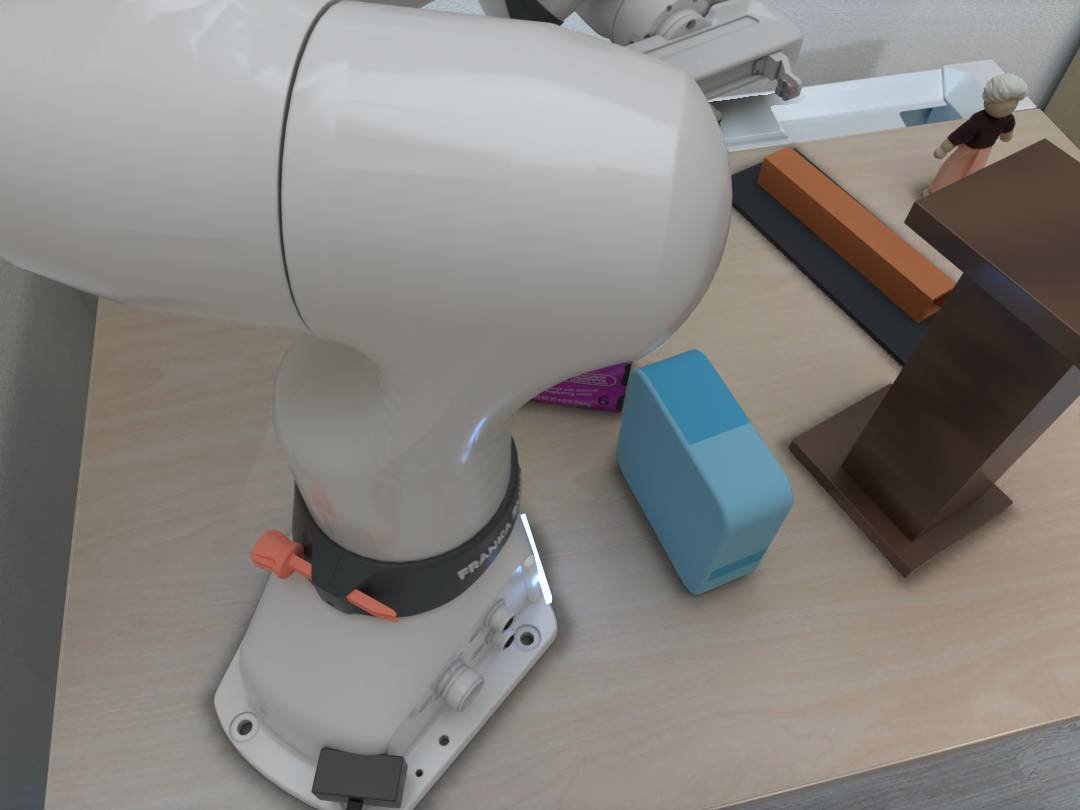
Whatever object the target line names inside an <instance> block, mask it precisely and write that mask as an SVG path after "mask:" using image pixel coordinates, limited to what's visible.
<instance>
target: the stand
mask: <svg viewBox="0 0 1080 810" xmlns="http://www.w3.org/2000/svg"><path fill="white" fill-rule="evenodd" d="M903 223H904V225H905V226H906V227H907V228H909V229H910V230H911V231H913V232H914V233H915V234H916V235H918V237H920V238H921V239H922V240H923V241H925V242H926V243H927V244H928V245H929V246H931V247H932V248H933V249H934V250H935V251H937V253H939V255H941V256H943V258H945V259H946V260H947V261H948V262H950V263H951V264H952V265H953V266H955V267H956V268H957V269H958V270H959V271H961V275H960V277H959V278H958V279H957V281H956V282H955V283H956V285H955V286H954V288H953V289H952V291H951V293H950V294H949V296H948V297H947V299H946V300H945V302H944V304H943V305H942V307H941V308H940V310H939V312H938V313H937V315H936V316H935V318H934V319H933V321H932V323H931V324H930V326H929V327H928V329H927V330H926V332H925V334H924V335H923V337H922V338H921V340H920V341H919V343H918V345H917V346H916V348H915V349H914V351H913V353H912V354H911V356H910V357H909V359H908V360H907V362H906V364H905V365H904V367H903V366H902V368H901V370H900V371H899V373H898V375H897V376H896V378H895V379H894V381H893V382H892V383H888V384H886V385H885V386H883V387H881V388H880V389H878V390H876V391H874V392H873V393H871V394H869V395H868V396H865V397H864V398H862V399H861V400H858V401H857V402H855V403H853V404H851V405H849V406H848V407H846V408H845V409H843V410H841V411H839V412H838V413H836V414H834V415H832V416H831V417H829V418H827V419H825V420H824V421H822V422H820V423H819V424H817V425H815V426H813V427H812V428H810V429H808V430H806V431H804V432H803V433H801V434H799V435H798V436H796V437H794V438H793V439H791V441H790V443H789V445H788V446H787V448H788V449H789V451H790V452H791V453H792V454H793V455H794V456H795V458H796V459H797V460H798V461H799V462H800V463H801V464H802V465H803V466H804V468H806V470H808V472H809V473H810V474H811V475H812V476H813V478H814V479H816V480H817V482H818V483H819V484H820V485H821V486H822V487H823V488H824V489H825V490H826V492H827V493H828V494H829V495H830V496H831V497H832V499H833V500H835V502H836V503H837V504H838V505H839V506H840V507H841V508H842V509H843V511H844V512H845V513H846V514H847V515H848V516H849V518H851V519H852V521H854V523H855V524H856V525H857V526H858V527H859V528H860V529H861V531H862V532H863V533H864V534H865V535H866V536H867V537H868V538H869V539H870V541H872V543H873V544H874V545H875V547H877V548H878V549H879V551H880V552H881V553H882V554H883V555H884V556H885V557H886V558H887V559H888V560H889V562H890V563H891V564H892V565H893V566H894V567H895V569H897V571H898V572H899V573H900V574H901V575H902V576H903V577H904V578H908V577H909V576H911V575H912V574H913V573H915V572H917V571H918V570H920V569H921V568H923V567H924V566H926V565H927V564H929V563H930V562H931V561H932V560H935V559H936V558H938V557H939V556H940V555H942V554H943V553H945V552H946V551H948V550H949V549H951V548H952V547H953V546H955V545H956V544H958V543H959V542H961V541H962V540H963V539H965V538H967V537H969V536H970V535H972V534H973V533H974V532H976V531H977V530H978V529H980V528H982V527H983V526H985V525H986V524H988V523H990V521H992V520H993V519H994V518H996V517H998V516H999V515H1001V514H1003V512H1005V511H1006V510H1007V509H1009V508H1010V507H1011V505H1013V504H1014V501H1013V500H1012V499H1011V498H1010V497H1009V496H1008V495H1007V494H1005V492H1003V491H1002V489H1000V488H999V486H997V484H995V483H997V482H998V481H999V480H1000V479H1001V477H1002V476H1003V475H1004V474H1005V473H1007V471H1008V470H1009V469H1010V468H1011V467H1012V466H1013V465H1014V464H1016V462H1017V461H1018V460H1019V459H1020V458H1021V457H1022V456H1023V455H1024V453H1026V452H1027V450H1029V448H1031V446H1032V445H1034V443H1036V442H1037V440H1038V439H1039V438H1040V437H1042V435H1043V434H1044V433H1045V432H1047V430H1048V429H1049V428H1050V427H1051V426H1052V425H1053V424H1054V423H1055V421H1057V420H1058V419H1059V418H1060V417H1061V416H1062V414H1064V413H1065V411H1067V410H1068V408H1069V407H1070V406H1071V405H1072V404H1073V403H1074V402H1075V401H1076V400H1077V399H1078V398H1079V397H1080V161H1079V160H1077V159H1076V158H1075V157H1073V156H1071V155H1070V154H1069V153H1067V152H1066V151H1065V150H1063V149H1062V148H1060V147H1059V146H1057V145H1055V143H1053V142H1052V141H1050V140H1049V139H1047V138H1043V139H1040V140H1038V141H1036V142H1034V143H1032V144H1030V145H1028V146H1026V147H1023V148H1022V149H1019V150H1018V151H1015V152H1013V153H1012V154H1009V155H1007V156H1005V157H1004V158H1001V159H999V160H997V161H995V162H992V163H991V164H989V165H987V166H985V167H984V168H982V169H980V170H978V171H976V172H974V173H972V174H970V175H968V176H966V177H964V178H962V179H960V180H958V181H956V182H954V183H952V184H949V185H947V186H945V187H943V188H941V189H939V190H937V191H935V192H933V193H931V194H929V195H927V196H925V197H923V196H922V197H921V198H918V199H917V200H914V202H913V203H912V205H911V207H910V209H909V211H908V213H907V215H906V217H905V219H904V221H903Z"/></svg>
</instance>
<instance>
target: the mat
mask: <svg viewBox="0 0 1080 810" xmlns="http://www.w3.org/2000/svg"><path fill="white" fill-rule="evenodd" d="M792 149H793V150H795V151H796V152H797V153H798V154H799V155H801V156H802V157H803V158H804V159H806V160H807V161H808V162H809V163H810V164H812V165H813V166H814V167H815V168H816V169H818V170H819V171H820V172H821V173H823V174H824V175H825V176H826V177H827V178H829V179H830V180H831V181H832V182H834V183H835V184H836V185H837V186H838V187H840V188H841V189H842V190H843V191H844V192H846V193H847V194H848V195H849V196H851V197H852V198H853V199H854V200H855V201H857V202H858V203H859V204H860V205H862V206H863V207H864V208H865V209H866V210H868V211H869V212H870V213H871V214H872V215H874V216H875V217H876V218H877V219H879V218H878V217H877V216H876V215H875V214H874V213H872V212H871V211H870V210H869V209H868V208H866V207H865V206H864V205H863V203H862V204H861V202H859V200H857V199H856V198H855V197H854V196H852V195H851V194H850V193H849V192H848V191H847V190H845V189H844V188H843V187H842V186H840V185H839V184H838V182H836V181H835V180H833V179H832V178H831V177H830V176H829V175H828V174H826V173H825V172H824V171H823V170H821V169H820V168H819V167H818V166H817V165H816V164H815V163H813V162H812V161H811V160H810V159H809V158H808V157H807V156H805V155H804V154H803V153H802V152H800V151H799V150H798V149H797V148H796V147H794V148H792ZM762 164H763V161H761V162H758V163H757V164H754V165H752V166H750V167H748V168H745V169H743V170H741V171H738V172H735V173H733V174H731V180H732V207H734V209H736V210H737V211H738V212H739V213H740V214H741V215H742V216H743V217H744V218H745V219H746V220H747V221H748V222H749V223H751V224H752V226H754V227H755V228H756V229H757V230H758V231H759V232H760V233H761V234H762V235H763V236H764V237H765V238H766V239H767V240H768V241H769V242H771V243H772V244H773V245H774V246H775V247H776V248H777V249H778V250H779V251H780V252H781V253H782V254H783V255H784V256H786V258H788V259H789V260H790V261H791V262H792V263H793V264H794V265H795V266H796V267H797V268H798V269H799V270H800V271H801V272H802V273H803V274H804V275H805V276H806V277H808V278H809V279H810V280H811V281H812V282H813V284H815V285H816V287H818V288H819V289H820V290H821V291H822V292H824V294H826V296H828V297H829V298H830V299H831V300H832V301H833V302H834V303H835V304H836V305H837V306H838V307H839V308H840V309H841V310H842V311H843V312H844V313H846V315H848V316H849V317H850V319H852V321H854V323H856V324H857V325H858V326H859V327H860V328H861V329H863V330H864V332H866V333H867V335H869V336H870V337H871V338H872V339H873V340H874V341H875V342H876V343H877V344H878V345H879V346H881V348H882V349H884V351H886V352H887V353H888V354H889V355H890V356H891V358H893V359H894V360H895V361H896V362H897V363H898V364H899V365H900V366H901V367H902V368H903V367H904V365H905V364H906V362H907V360H908V359H909V357H910V356H911V354H912V353H913V351H914V349H915V348H916V346H917V345H918V343H919V341H920V340H921V338H922V337H923V335H924V334H925V332H926V330H927V329H928V327H929V326H930V324H931V323H932V321H933V319H934V318H935V316H936V315H937V313H938V312H937V313H935V314H933V315H932V316H930V317H928V318H927V319H925V320H923V321H921V322H920V323H916V322H915V321H914V320H913V319H912V318H911V317H910V316H908V315H907V314H906V313H905V312H904V311H903V310H902V309H900V308H899V307H898V306H897V305H896V304H895V303H894V302H892V301H891V300H890V299H889V298H888V297H887V296H886V295H884V294H883V293H882V292H881V291H880V290H879V289H878V288H876V287H875V286H874V285H873V284H872V283H871V282H870V281H868V280H867V279H866V278H865V277H864V276H863V275H862V274H860V273H859V272H858V271H857V270H856V269H855V268H854V267H852V266H851V265H850V264H849V263H848V262H847V261H846V260H844V259H843V258H842V257H841V256H840V255H839V254H838V253H836V252H835V251H834V250H833V249H832V248H831V247H830V246H828V245H827V244H826V243H825V242H824V241H823V240H822V239H820V238H819V237H818V236H817V235H816V234H815V233H814V232H812V231H811V230H810V229H809V228H808V227H807V226H806V225H804V224H803V223H802V222H801V221H800V220H799V219H798V218H796V217H795V216H794V215H793V214H792V213H791V212H790V211H788V210H787V209H786V208H785V207H784V206H783V205H782V204H780V203H779V202H778V201H777V200H776V199H775V198H773V197H772V196H771V195H770V194H769V193H768V192H767V191H765V190H764V189H763V188H762V187H761V186H760V185H759V184H757V181H758V177H759V174H760V171H761V168H762ZM880 221H881V222H882V223H883V224H885V223H884V222H883V221H882V220H880ZM887 227H888V228H890V227H889V226H887ZM893 232H894V233H896V232H895V231H893Z"/></svg>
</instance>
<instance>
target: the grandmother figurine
mask: <svg viewBox="0 0 1080 810" xmlns="http://www.w3.org/2000/svg"><path fill="white" fill-rule="evenodd" d="M1028 93H1029V87H1028V84H1027V83H1026V82H1025V81H1024V79H1023V78H1021V76H1018V75H1016V74H1014V73H1013V72H1008V73H1006V72H1005V73H1002V74H999V75H997V76H992V77H991V78H990V79H989V80H987V82H986V84H985V85H984V87H983V92H982V94H981V98H982V100H983V109H981V110H979V111H977V112H974V113H973V114H972V115H971V116H970V117H969V118H968V119H967V120H966V121H965V122H963V123H962V124H960V125H959V126H958V127H957V128H955V130H953V131H952V132H951V133H949V135H948V136H947V137H946V139H945V140H943V141H942V142H941V144H940V146H938V147H937V148H935V149H934V150H933V157H934V158H935V159H937V160H942V159H944V158H945V157H946V156H947V155H948V153H950V152H951V151H952V150H954V149H955V148H956V149H955V150H954V151H953V152H952V153H951V154H950V155H949V156H948V157H947V158H946V159H945V160H944V162H943V163H941V165H940V166H939V168H938V170H937V173H935V176H934V177H933V179H932V181H931V182H930V184H929V186H928V188H925V189H924V190H922V192H921V196H922V198H923V197H925V196H927V195H929V194H931V193H933V192H935V191H937V190H939V189H941V188H943V187H945V186H947V185H949V184H952V183H954V182H956V181H958V180H960V179H962V178H964V177H966V176H968V175H970V174H972V173H974V172H976V171H978V170H980V169H982V168H985V167H986V164H987V161H988V159H989V158H990V154H991V152H992V148H993V146H994V145H995V144H996V142H997V140H998V139H999V140H1000V141H1001V142H1003V143H1008V142H1010V141H1011V140H1013V137H1014V134H1013V133H1014V130H1015V127H1016V123H1017V122H1016V117H1015V115H1014V114H1013V113H1014V111H1015V110H1016V109H1017V107H1018V105H1019V102H1021V101H1024V99H1025V98H1027V96H1028Z"/></svg>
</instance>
